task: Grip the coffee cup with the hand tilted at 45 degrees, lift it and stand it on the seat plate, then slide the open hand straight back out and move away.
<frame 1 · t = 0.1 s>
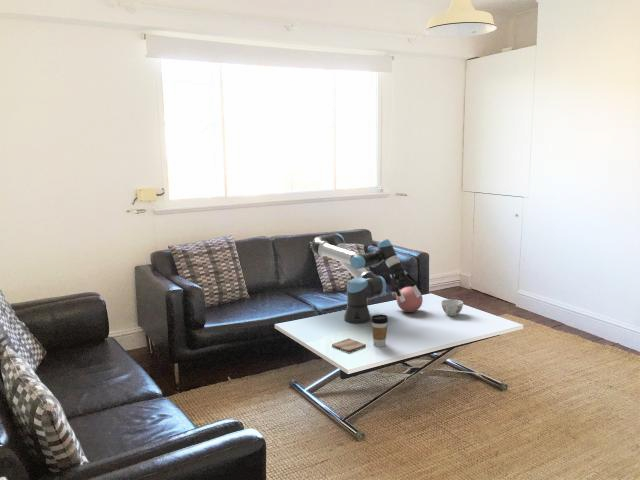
hand: (411, 299, 297), 15 cm above the table, tool tilted 35°, fingers open, 13 cm apart
teacup: (451, 315, 316), on the table
seat plate: (348, 346, 270), on the table
pink rubber ball: (406, 311, 326), on the table
coffee cup: (379, 344, 272), on the table
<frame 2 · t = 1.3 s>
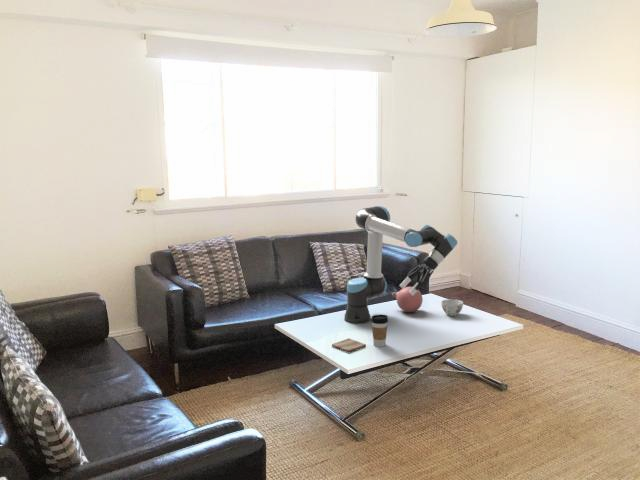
hand: (405, 290, 276), 26 cm above the table, tool tilted 45°, fingers open, 13 cm apart
nothing on the table moved.
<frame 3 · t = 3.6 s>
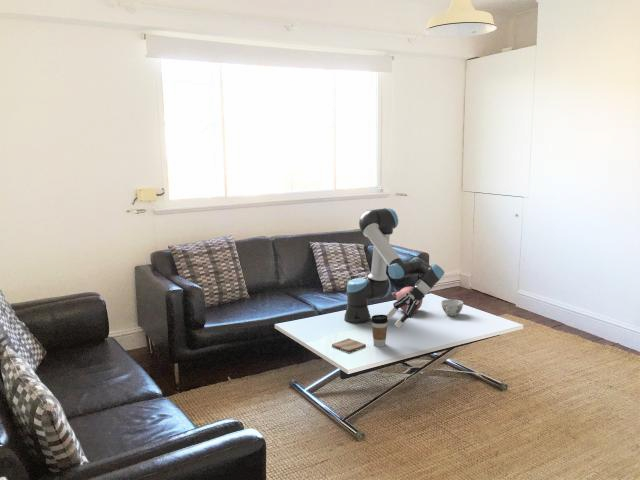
hand: (391, 322, 270), 12 cm above the table, tool tilted 45°, fingers open, 13 cm apart
nothing on the table moved.
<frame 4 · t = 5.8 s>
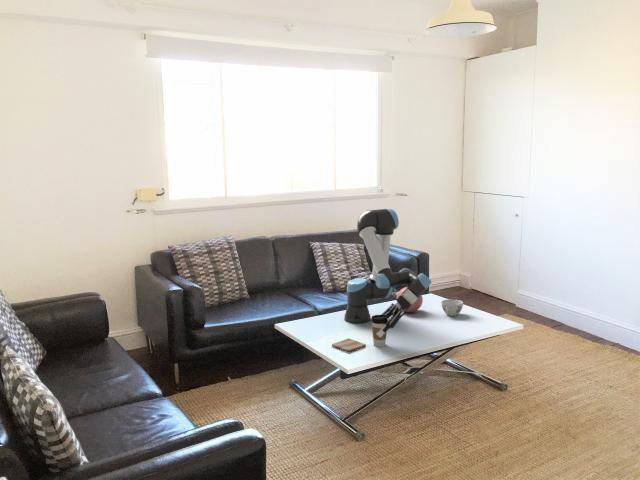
hand: (375, 332, 270), 6 cm above the table, tool tilted 45°, fingers closed on coffee cup, 8 cm apart
coffee cup: (379, 344, 272), on the table, touching gripper
everything else where it was.
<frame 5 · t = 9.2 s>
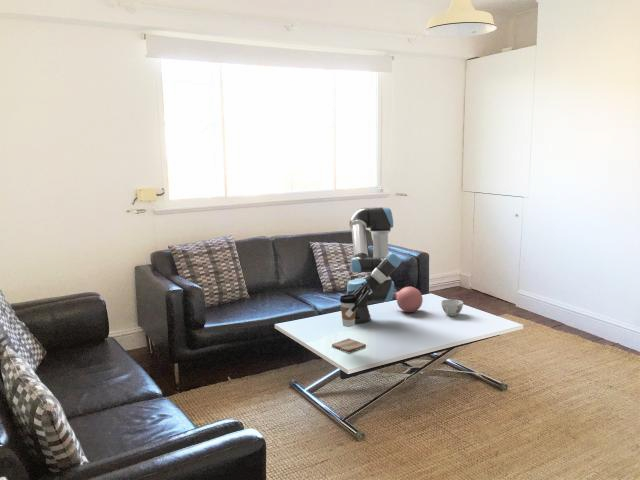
hand: (344, 313, 266), 18 cm above the table, tool tilted 45°, fingers closed on coffee cup, 8 cm apart
coffee cup: (348, 325, 268), point 11 cm above the table, touching gripper
everything else where it was.
when the fingers open (8 cm above the table, at t = 12.6 s): coffee cup stays where it is, resting on seat plate.
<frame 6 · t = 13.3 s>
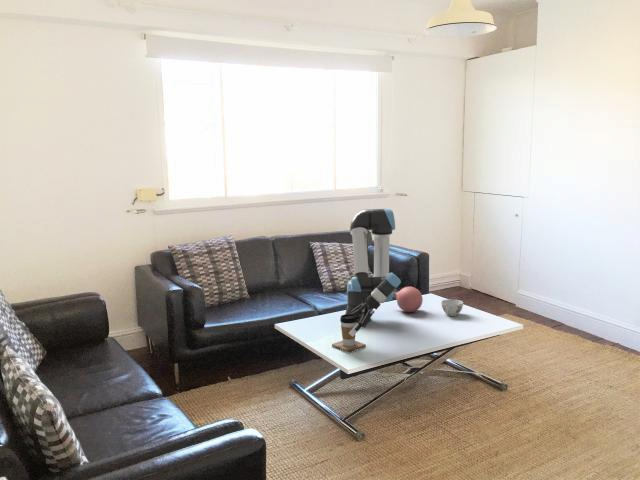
hand: (347, 330, 268), 9 cm above the table, tool tilted 45°, fingers open, 13 cm apart
coffee cup: (348, 344, 270), point 1 cm above the table, touching seat plate
everything else where it was.
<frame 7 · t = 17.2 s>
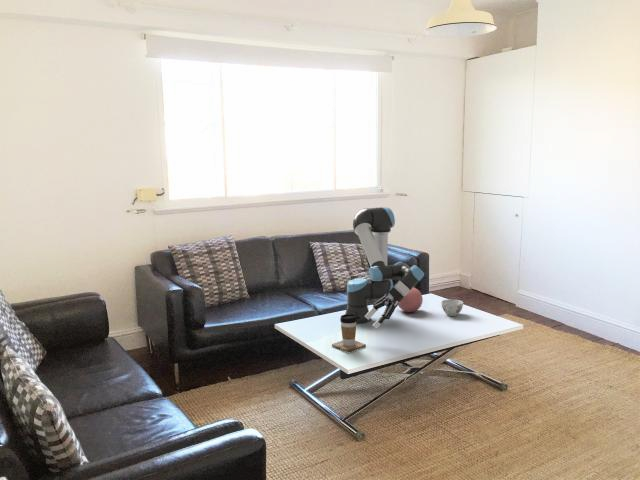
hand: (370, 322, 270), 12 cm above the table, tool tilted 45°, fingers open, 13 cm apart
nothing on the table moved.
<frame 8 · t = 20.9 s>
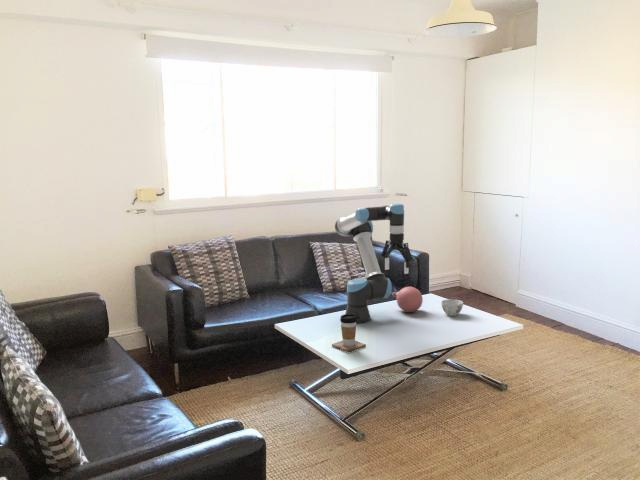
hand: (396, 271, 292), 32 cm above the table, tool pointing down, fingers open, 13 cm apart
nothing on the table moved.
at the end: coffee cup inside the target area on the seat plate (0.1 cm from its centre), point 1.0 cm above the seat plate's base; coffee cup tilted 0°; the gripper is holding nothing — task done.
